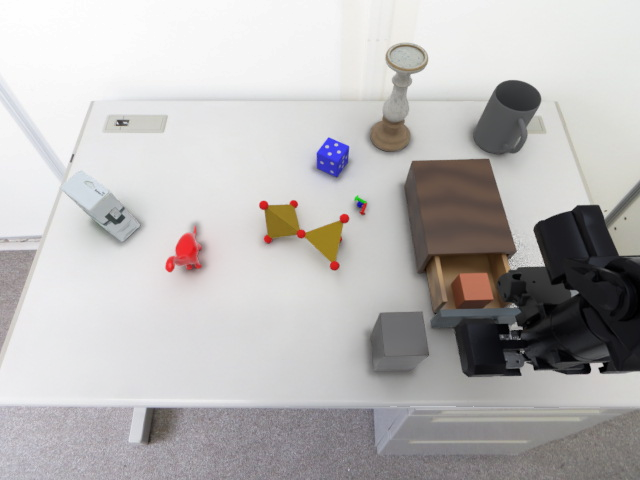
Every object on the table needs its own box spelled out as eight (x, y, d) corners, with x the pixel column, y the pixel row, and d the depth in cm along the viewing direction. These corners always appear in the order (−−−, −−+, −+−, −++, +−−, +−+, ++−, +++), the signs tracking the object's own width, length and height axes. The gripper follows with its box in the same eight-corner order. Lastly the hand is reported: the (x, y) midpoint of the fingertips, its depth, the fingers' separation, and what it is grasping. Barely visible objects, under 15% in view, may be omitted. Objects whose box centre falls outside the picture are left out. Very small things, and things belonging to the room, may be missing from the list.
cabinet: (497, 271, 69) (517, 251, 62) (417, 273, 69) (428, 254, 62) (474, 184, 78) (489, 158, 71) (403, 186, 78) (411, 160, 71)
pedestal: (410, 370, 61) (429, 355, 50) (373, 371, 61) (384, 356, 50) (405, 333, 64) (422, 311, 53) (370, 334, 64) (379, 312, 53)
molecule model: (285, 178, 78) (276, 152, 66) (368, 204, 76) (374, 182, 64) (257, 251, 75) (243, 237, 63) (343, 280, 73) (345, 271, 61)
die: (348, 161, 81) (349, 145, 77) (337, 177, 79) (337, 162, 75) (328, 152, 82) (328, 136, 78) (316, 168, 80) (316, 152, 76)
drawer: (517, 351, 61) (536, 343, 56) (435, 353, 61) (446, 345, 56) (485, 229, 72) (499, 212, 66) (415, 231, 72) (423, 214, 66)
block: (483, 308, 64) (493, 299, 59) (456, 309, 64) (464, 300, 59) (477, 282, 66) (487, 272, 62) (450, 283, 66) (459, 273, 62)
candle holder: (403, 156, 82) (425, 77, 64) (365, 145, 83) (376, 65, 65) (413, 128, 85) (437, 46, 68) (376, 118, 87) (390, 35, 69)
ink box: (93, 221, 75) (56, 186, 64) (113, 204, 77) (79, 167, 66) (122, 243, 72) (88, 211, 62) (142, 225, 74) (112, 190, 64)
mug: (468, 124, 86) (488, 80, 75) (508, 122, 86) (533, 78, 75) (483, 172, 79) (507, 131, 69) (526, 170, 80) (557, 128, 69)
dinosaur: (205, 224, 74) (185, 187, 63) (204, 296, 67) (181, 268, 56) (185, 227, 74) (161, 190, 63) (182, 299, 67) (154, 272, 56)
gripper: (643, 251, 40) (561, 299, 54) (467, 255, 40) (431, 302, 54) (694, 359, 35) (589, 382, 49) (492, 364, 35) (444, 385, 49)
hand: (510, 359), depth 50 cm, fingers open, 4 cm apart
